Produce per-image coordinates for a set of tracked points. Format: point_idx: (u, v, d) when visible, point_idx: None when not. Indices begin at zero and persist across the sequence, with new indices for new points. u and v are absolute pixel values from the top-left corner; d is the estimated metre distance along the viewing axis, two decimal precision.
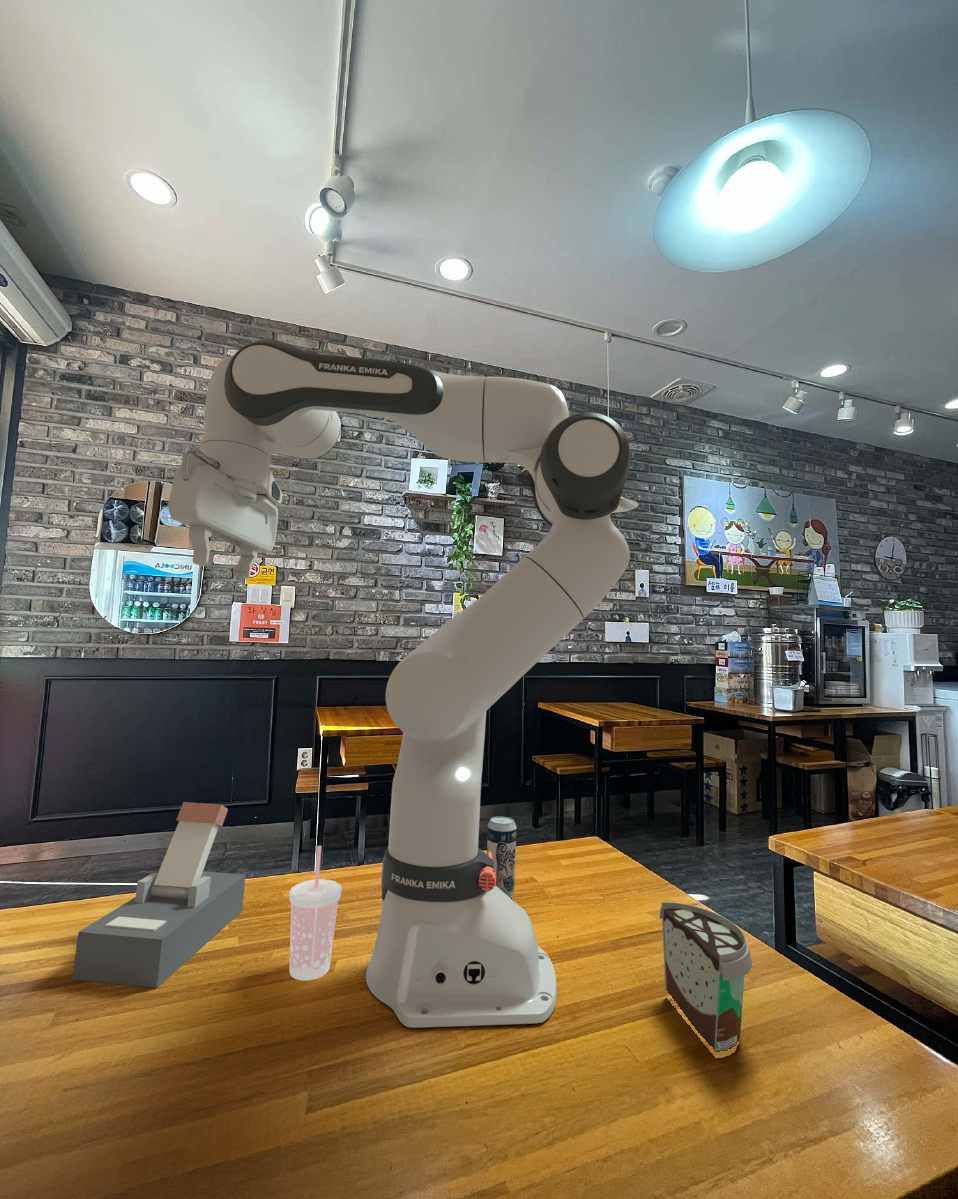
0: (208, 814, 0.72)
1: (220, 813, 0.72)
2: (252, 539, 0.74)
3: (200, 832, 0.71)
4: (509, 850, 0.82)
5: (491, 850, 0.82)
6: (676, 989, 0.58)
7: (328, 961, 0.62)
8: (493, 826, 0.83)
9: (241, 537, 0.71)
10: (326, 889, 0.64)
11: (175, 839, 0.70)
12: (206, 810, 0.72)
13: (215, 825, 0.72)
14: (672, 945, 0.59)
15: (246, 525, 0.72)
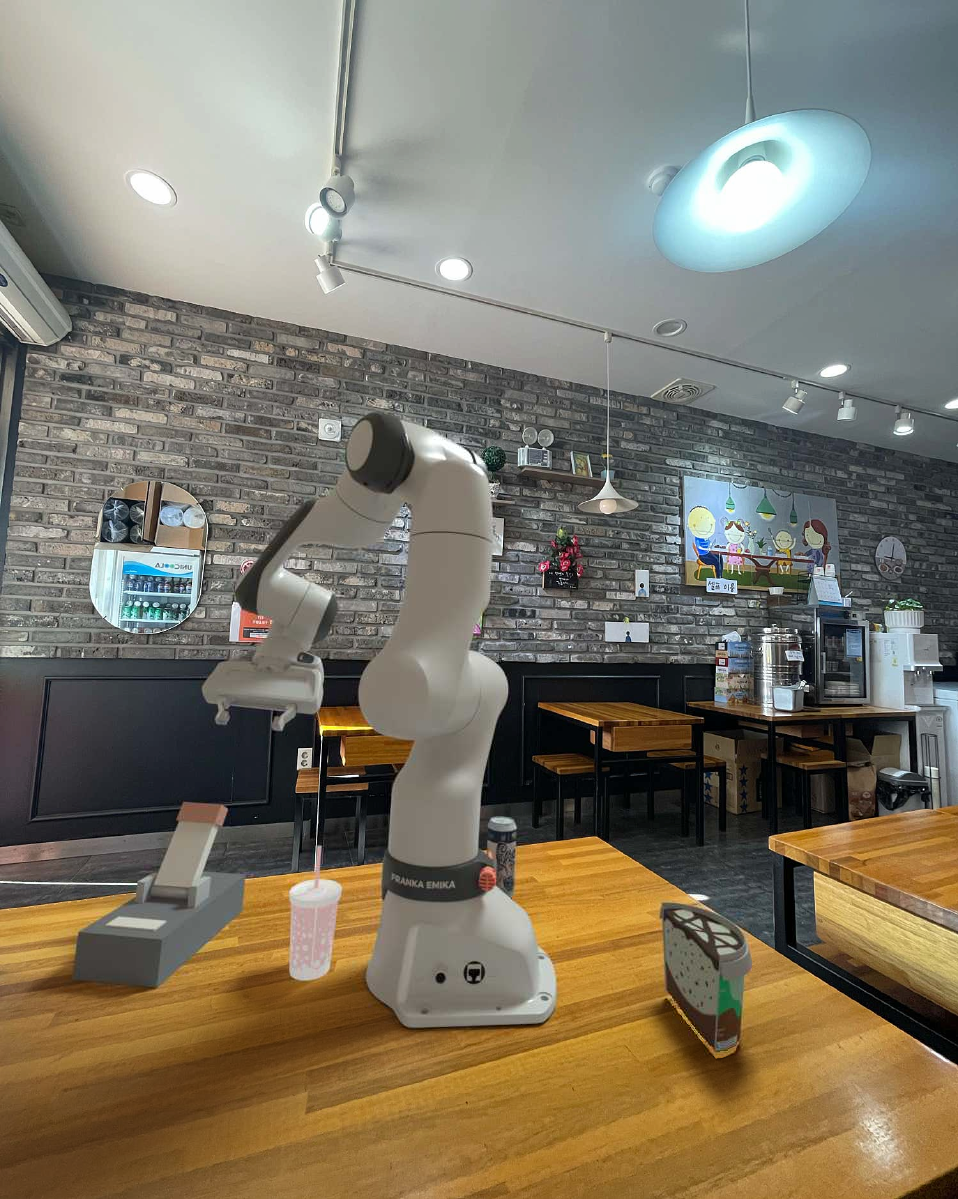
0: (208, 814, 0.72)
1: (220, 813, 0.72)
2: (278, 695, 0.90)
3: (200, 832, 0.71)
4: (509, 850, 0.82)
5: (491, 850, 0.82)
6: (676, 989, 0.58)
7: (328, 961, 0.62)
8: (493, 826, 0.83)
9: (261, 696, 0.90)
10: (326, 889, 0.64)
11: (175, 839, 0.70)
12: (206, 810, 0.72)
13: (215, 825, 0.72)
14: (672, 945, 0.59)
15: (269, 687, 0.91)
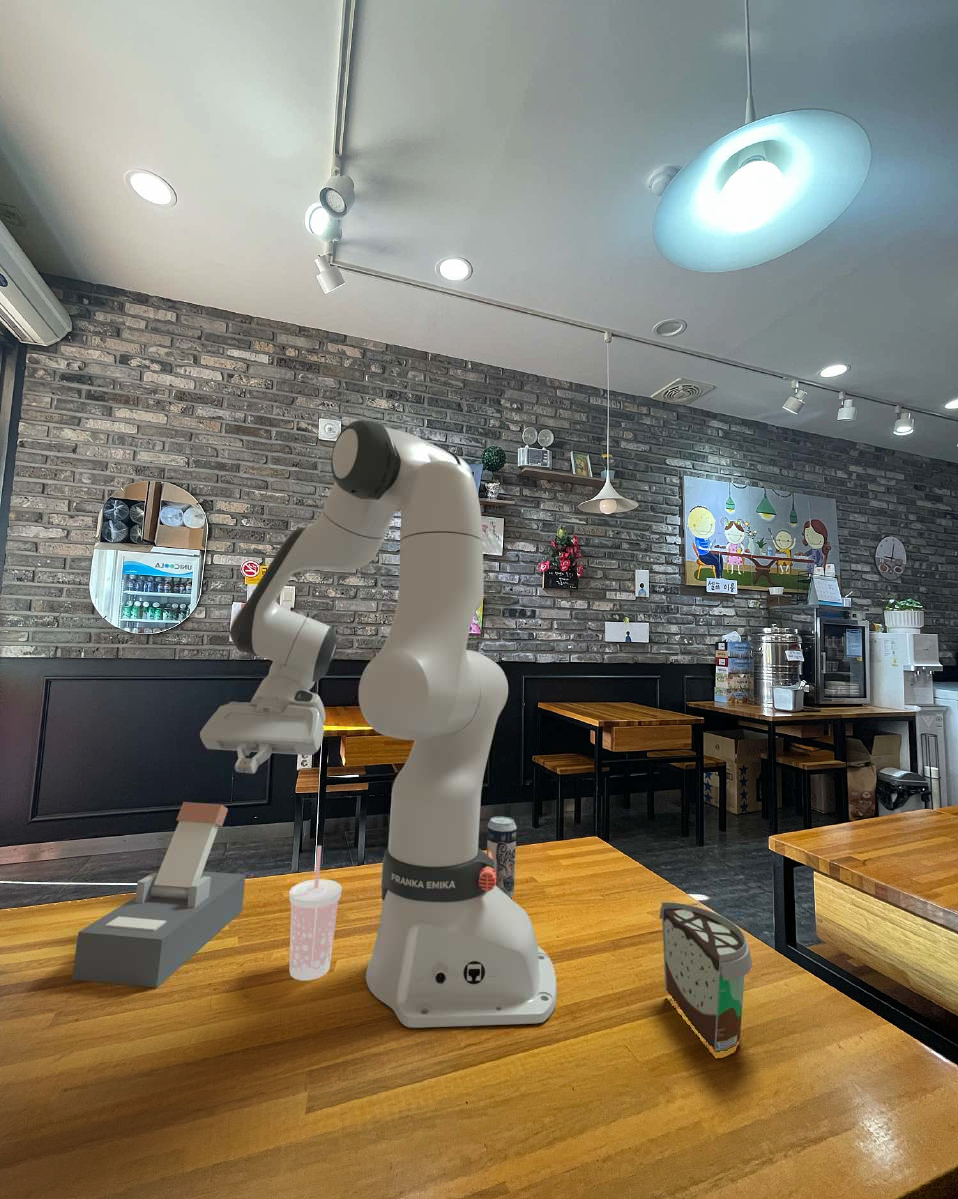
0: (208, 814, 0.72)
1: (220, 813, 0.72)
2: (274, 737, 0.86)
3: (200, 832, 0.71)
4: (509, 850, 0.82)
5: (491, 850, 0.82)
6: (676, 989, 0.58)
7: (328, 961, 0.62)
8: (493, 826, 0.83)
9: (257, 739, 0.86)
10: (326, 889, 0.64)
11: (175, 839, 0.70)
12: (206, 810, 0.72)
13: (215, 825, 0.72)
14: (672, 945, 0.59)
15: (266, 729, 0.88)
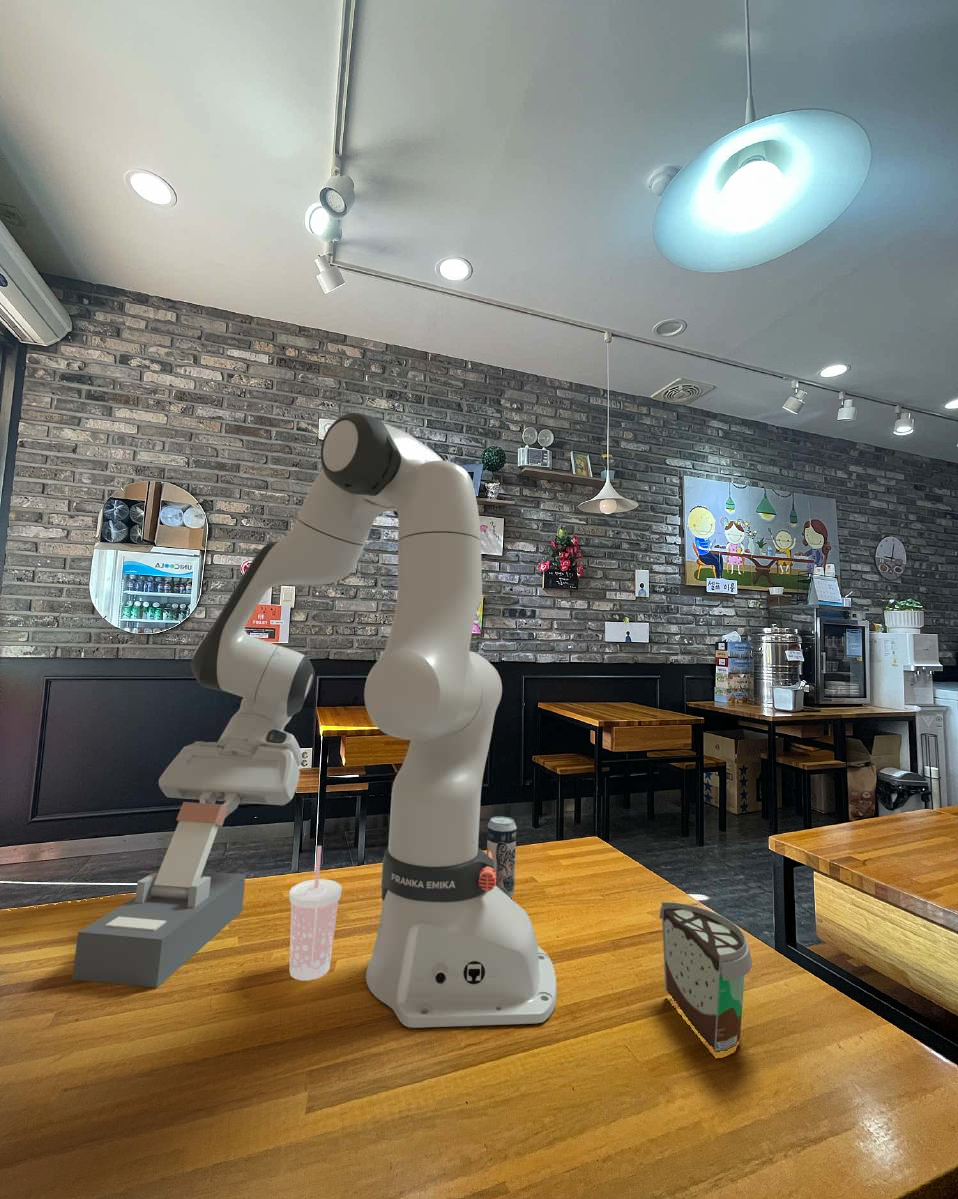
0: (208, 814, 0.72)
1: (220, 813, 0.72)
2: (241, 786, 0.77)
3: (200, 832, 0.71)
4: (509, 850, 0.82)
5: (491, 850, 0.82)
6: (676, 989, 0.58)
7: (328, 961, 0.62)
8: (493, 826, 0.83)
9: (222, 787, 0.77)
10: (326, 889, 0.64)
11: (175, 839, 0.70)
12: (206, 810, 0.72)
13: (215, 825, 0.72)
14: (672, 945, 0.59)
15: (233, 776, 0.78)
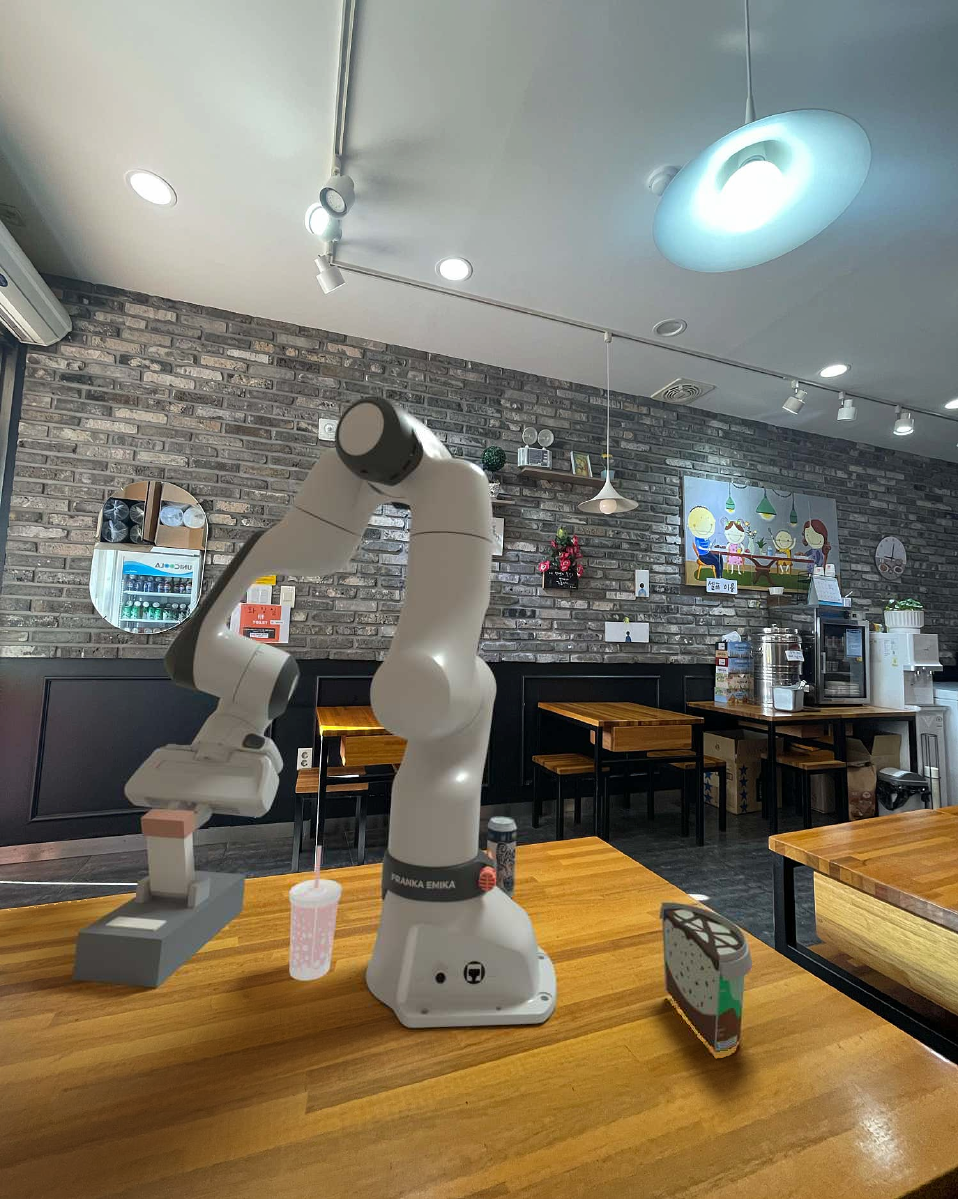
0: (173, 830, 0.65)
1: (186, 826, 0.65)
2: (213, 796, 0.70)
3: (174, 846, 0.65)
4: (509, 850, 0.82)
5: (491, 850, 0.82)
6: (676, 989, 0.58)
7: (328, 961, 0.62)
8: (493, 826, 0.83)
9: (192, 797, 0.70)
10: (326, 889, 0.64)
11: (151, 852, 0.66)
12: (169, 826, 0.65)
13: None
14: (672, 945, 0.59)
15: (204, 784, 0.72)
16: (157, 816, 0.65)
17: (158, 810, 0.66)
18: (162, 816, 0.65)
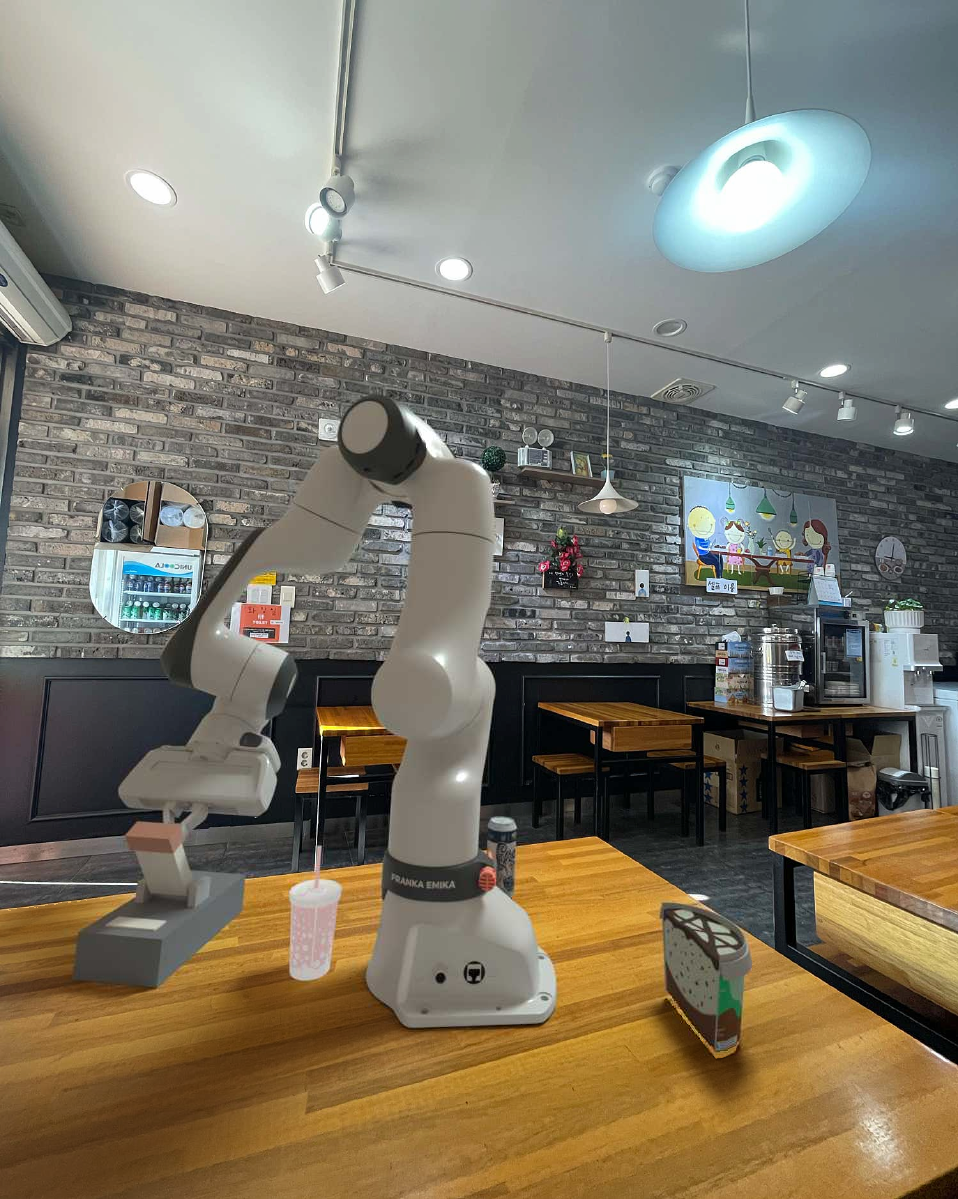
0: (161, 847, 0.62)
1: (174, 841, 0.63)
2: (210, 795, 0.69)
3: (164, 858, 0.64)
4: (509, 850, 0.82)
5: (491, 850, 0.82)
6: (676, 989, 0.58)
7: (328, 961, 0.62)
8: (493, 826, 0.83)
9: (189, 797, 0.69)
10: (326, 889, 0.64)
11: (142, 862, 0.64)
12: (156, 843, 0.62)
13: None
14: (672, 945, 0.59)
15: (201, 784, 0.70)
16: (141, 833, 0.62)
17: (142, 824, 0.64)
18: (147, 832, 0.63)
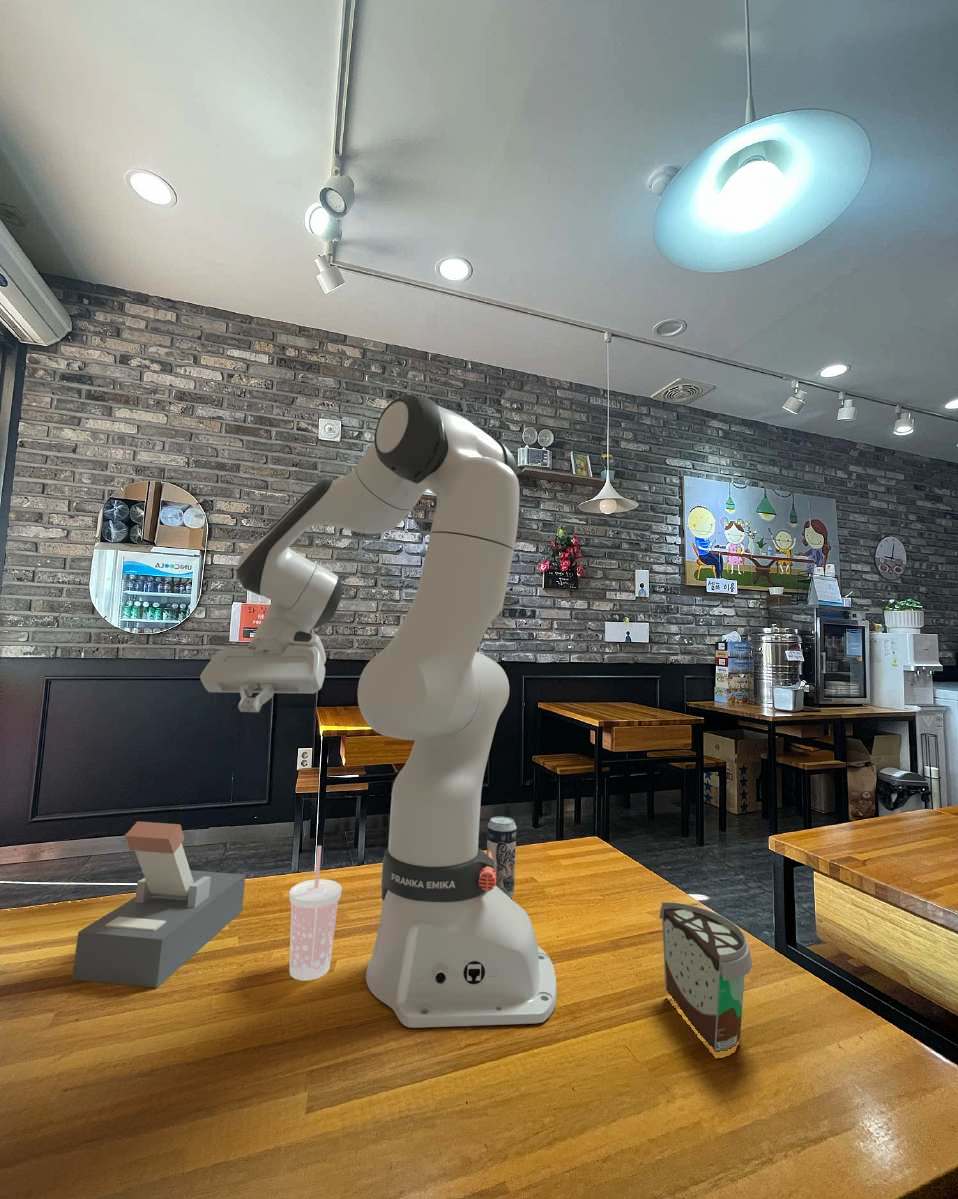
0: (161, 847, 0.62)
1: (174, 841, 0.63)
2: (276, 677, 0.86)
3: (164, 858, 0.64)
4: (509, 850, 0.82)
5: (491, 850, 0.82)
6: (676, 989, 0.58)
7: (328, 961, 0.62)
8: (493, 826, 0.83)
9: (259, 679, 0.86)
10: (326, 889, 0.64)
11: (142, 862, 0.64)
12: (156, 843, 0.62)
13: None
14: (672, 945, 0.59)
15: (267, 669, 0.87)
16: (141, 833, 0.62)
17: (142, 824, 0.64)
18: (147, 832, 0.63)
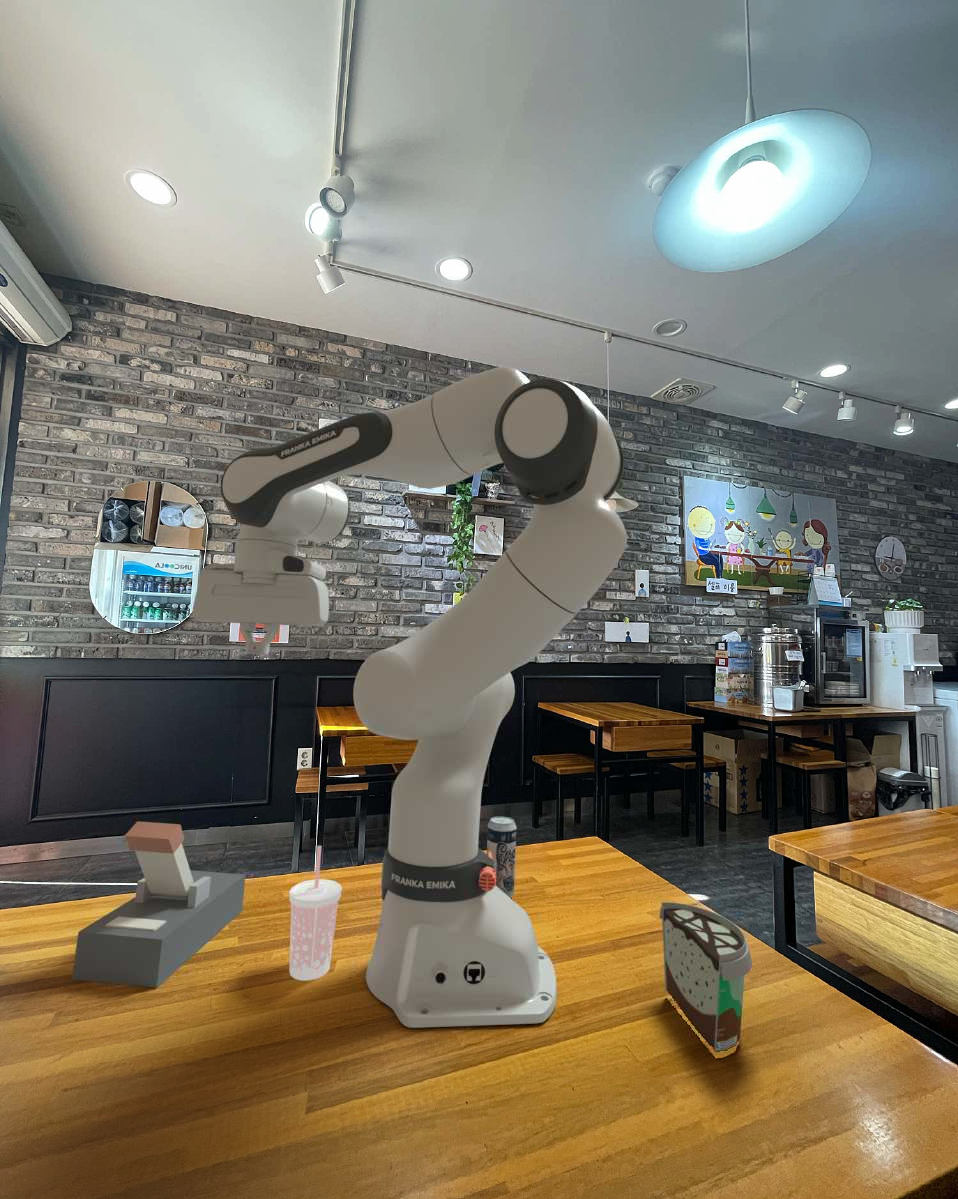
0: (161, 847, 0.62)
1: (174, 841, 0.63)
2: (276, 618, 0.77)
3: (164, 858, 0.64)
4: (509, 850, 0.82)
5: (491, 850, 0.82)
6: (676, 989, 0.58)
7: (328, 961, 0.62)
8: (493, 826, 0.83)
9: (258, 620, 0.77)
10: (326, 889, 0.64)
11: (142, 862, 0.64)
12: (156, 843, 0.62)
13: None
14: (672, 945, 0.59)
15: (263, 607, 0.78)
16: (141, 833, 0.62)
17: (142, 824, 0.64)
18: (147, 832, 0.63)
